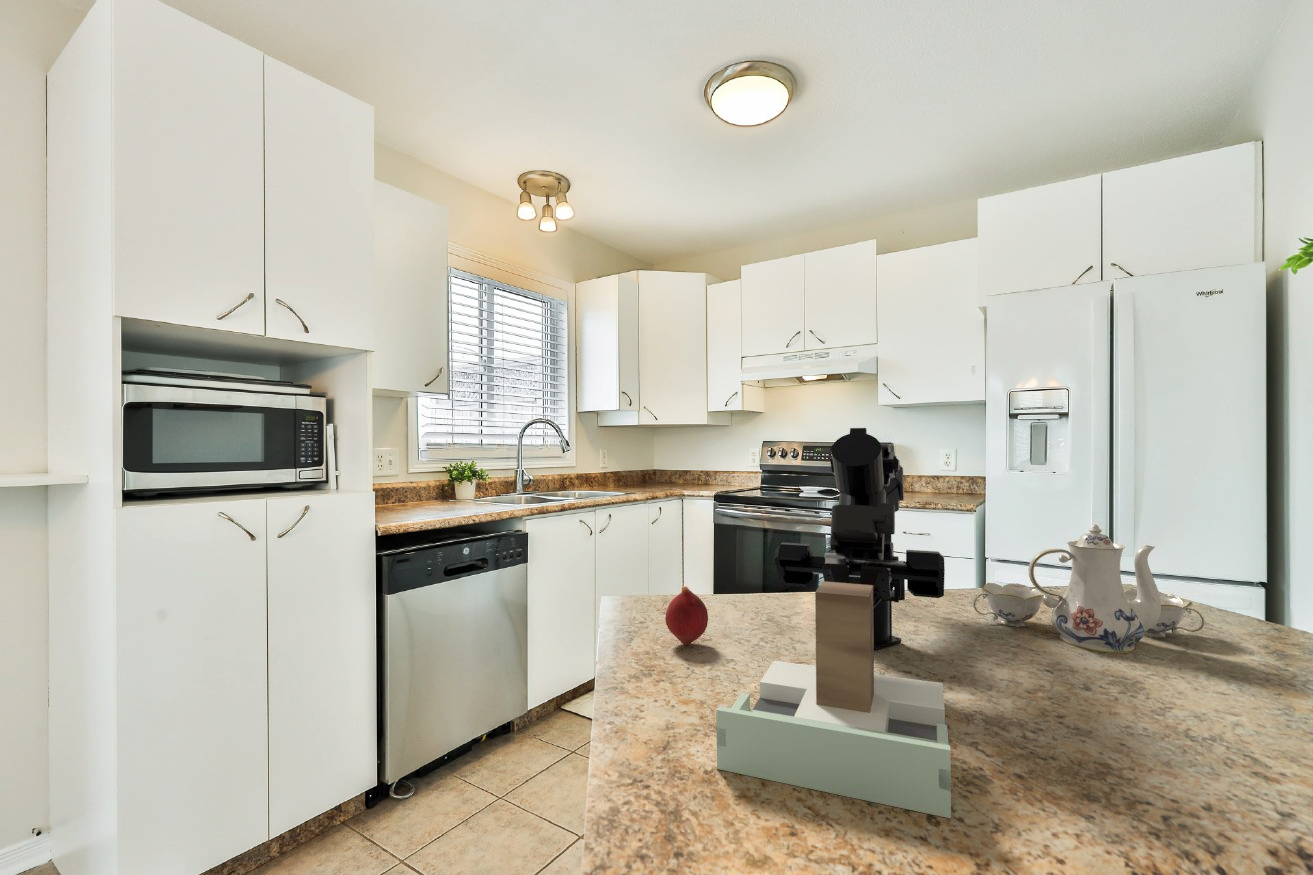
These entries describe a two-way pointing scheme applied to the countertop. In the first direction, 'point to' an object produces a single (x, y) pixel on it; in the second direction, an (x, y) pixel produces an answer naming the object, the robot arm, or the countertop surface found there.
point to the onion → (686, 616)
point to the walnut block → (844, 646)
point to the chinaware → (1094, 599)
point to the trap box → (843, 740)
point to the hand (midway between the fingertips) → (852, 634)
